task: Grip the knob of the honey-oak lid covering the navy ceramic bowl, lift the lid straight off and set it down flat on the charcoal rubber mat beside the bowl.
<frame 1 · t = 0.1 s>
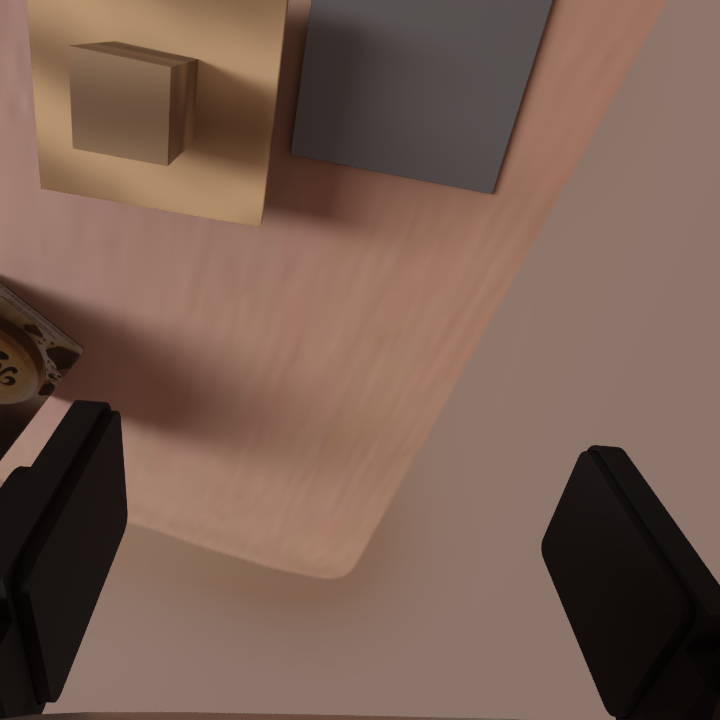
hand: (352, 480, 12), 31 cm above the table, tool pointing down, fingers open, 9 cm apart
oak lid: (161, 91, 30), point 6 cm above the table, touching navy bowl
charcoal mat: (418, 59, 36), on the table
coffee box: (13, 331, 44), on the table
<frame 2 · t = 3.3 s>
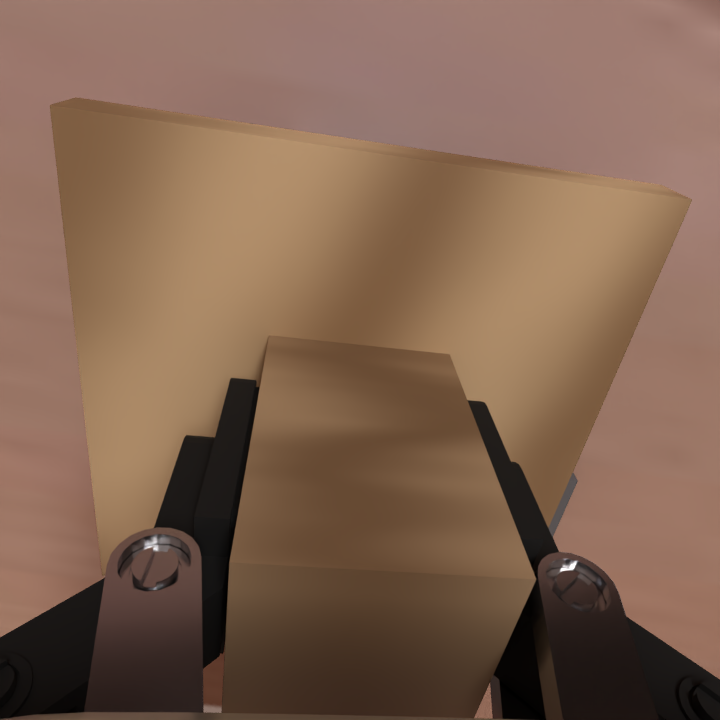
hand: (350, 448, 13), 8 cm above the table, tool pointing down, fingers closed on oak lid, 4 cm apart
oak lid: (346, 390, 14), point 6 cm above the table, touching gripper, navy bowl
charcoal mat: (385, 573, 27), on the table
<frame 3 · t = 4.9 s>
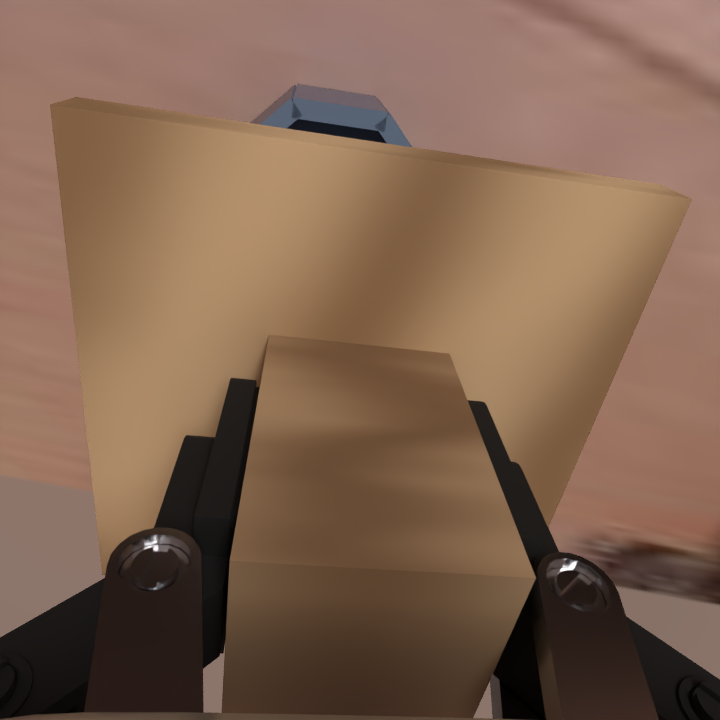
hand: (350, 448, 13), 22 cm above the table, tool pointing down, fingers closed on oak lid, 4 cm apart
oak lid: (346, 389, 15), point 20 cm above the table, touching gripper
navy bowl: (325, 188, 32), on the table
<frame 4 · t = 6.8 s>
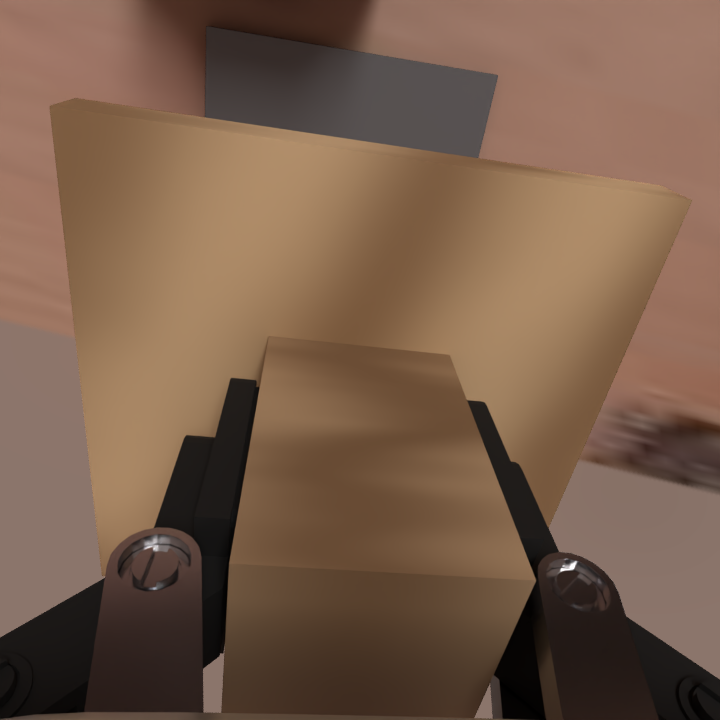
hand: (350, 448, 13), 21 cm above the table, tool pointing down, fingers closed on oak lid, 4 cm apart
oak lid: (346, 391, 14), point 19 cm above the table, touching gripper
charcoal mat: (337, 196, 31), on the table
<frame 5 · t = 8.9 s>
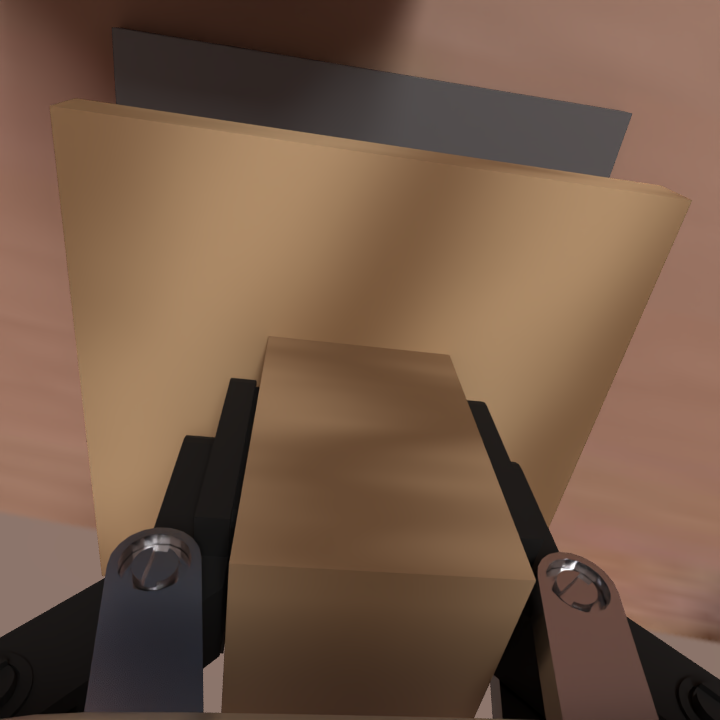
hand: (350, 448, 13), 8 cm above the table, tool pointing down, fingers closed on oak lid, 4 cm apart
oak lid: (346, 391, 14), point 5 cm above the table, touching gripper
charcoal mat: (348, 303, 19), on the table
when the fingers open (5 cm above the table, at t = 10.4 s): oak lid drops 2 cm, resting on charcoal mat.
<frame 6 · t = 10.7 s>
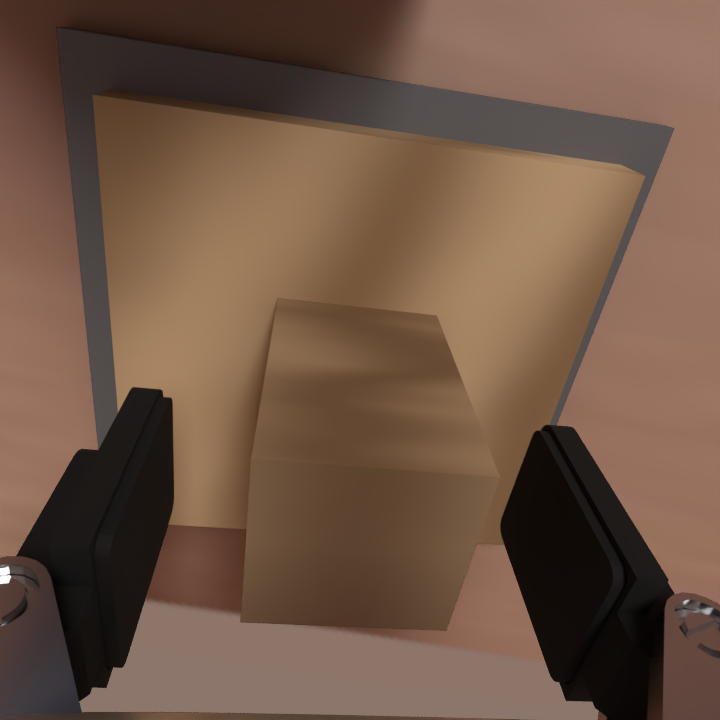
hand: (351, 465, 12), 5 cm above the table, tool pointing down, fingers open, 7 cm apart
oak lid: (346, 352, 16), resting on charcoal mat
charcoal mat: (343, 343, 17), on the table
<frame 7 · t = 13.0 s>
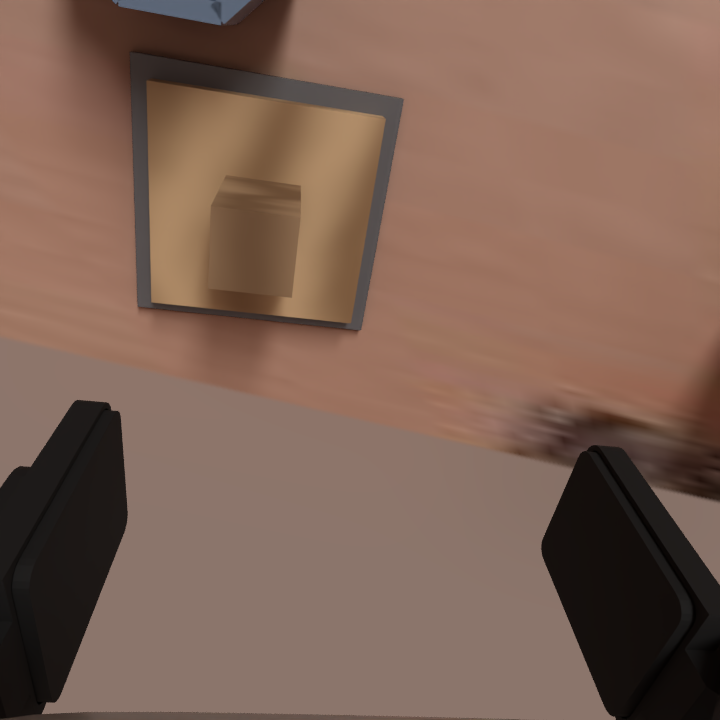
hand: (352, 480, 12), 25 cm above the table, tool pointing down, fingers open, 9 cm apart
oak lid: (262, 210, 33), resting on charcoal mat
charcoal mat: (261, 207, 33), on the table
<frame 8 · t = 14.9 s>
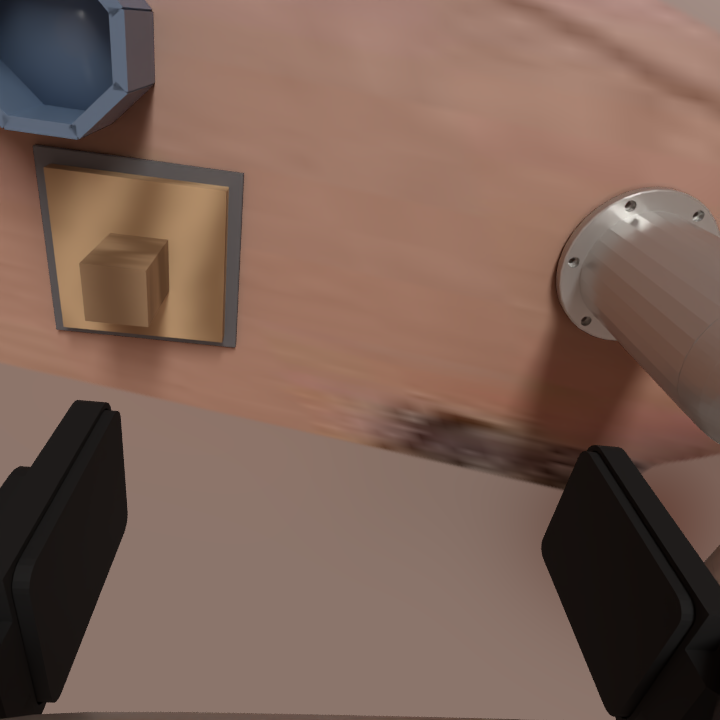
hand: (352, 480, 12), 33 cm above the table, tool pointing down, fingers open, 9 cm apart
oak lid: (145, 256, 43), resting on charcoal mat
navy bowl: (71, 34, 36), on the table
charcoal mat: (145, 254, 43), on the table
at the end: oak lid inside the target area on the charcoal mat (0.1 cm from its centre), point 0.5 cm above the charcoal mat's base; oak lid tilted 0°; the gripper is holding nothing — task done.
